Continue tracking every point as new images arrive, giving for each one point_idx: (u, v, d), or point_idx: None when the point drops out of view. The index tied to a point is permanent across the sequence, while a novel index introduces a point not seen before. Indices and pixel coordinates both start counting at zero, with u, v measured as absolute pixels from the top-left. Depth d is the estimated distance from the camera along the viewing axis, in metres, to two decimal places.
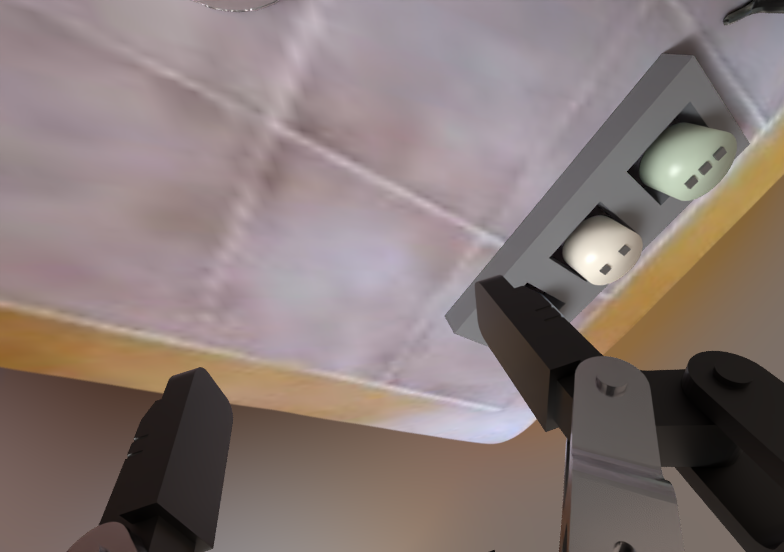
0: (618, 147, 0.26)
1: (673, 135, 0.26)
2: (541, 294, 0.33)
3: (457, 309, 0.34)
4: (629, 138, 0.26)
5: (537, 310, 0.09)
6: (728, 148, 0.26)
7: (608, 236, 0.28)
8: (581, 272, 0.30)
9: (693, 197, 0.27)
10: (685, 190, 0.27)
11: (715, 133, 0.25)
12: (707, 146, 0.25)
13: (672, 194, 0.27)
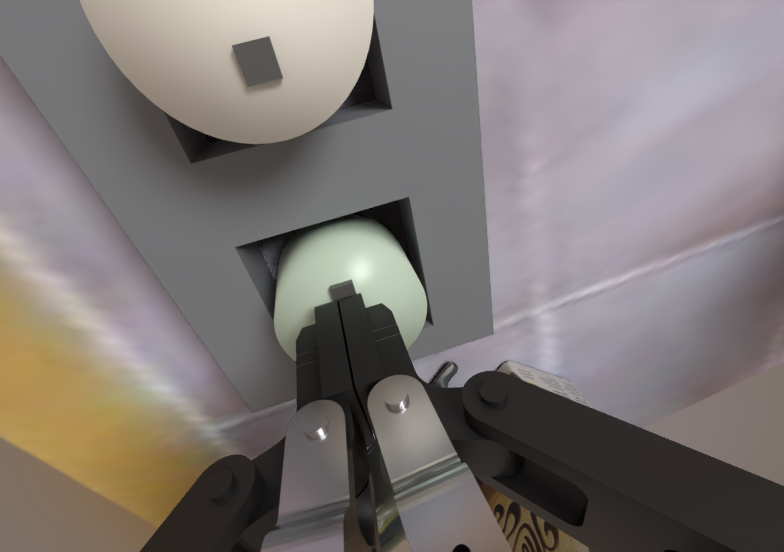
0: (477, 197, 0.12)
1: None
2: None
3: None
4: (472, 222, 0.13)
5: (383, 328, 0.10)
6: None
7: (368, 42, 0.07)
8: None
9: (288, 295, 0.11)
10: (329, 280, 0.11)
11: (412, 341, 0.13)
12: (399, 328, 0.13)
13: (340, 252, 0.11)
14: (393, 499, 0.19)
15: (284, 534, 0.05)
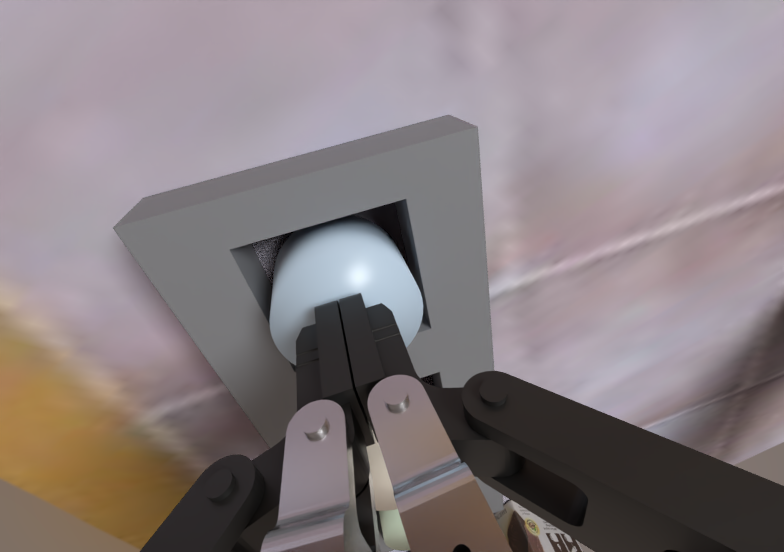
0: None
1: None
2: None
3: None
4: None
5: (383, 327, 0.10)
6: None
7: None
8: None
9: (394, 525, 0.21)
10: None
11: None
12: None
13: None
14: None
15: (284, 534, 0.05)
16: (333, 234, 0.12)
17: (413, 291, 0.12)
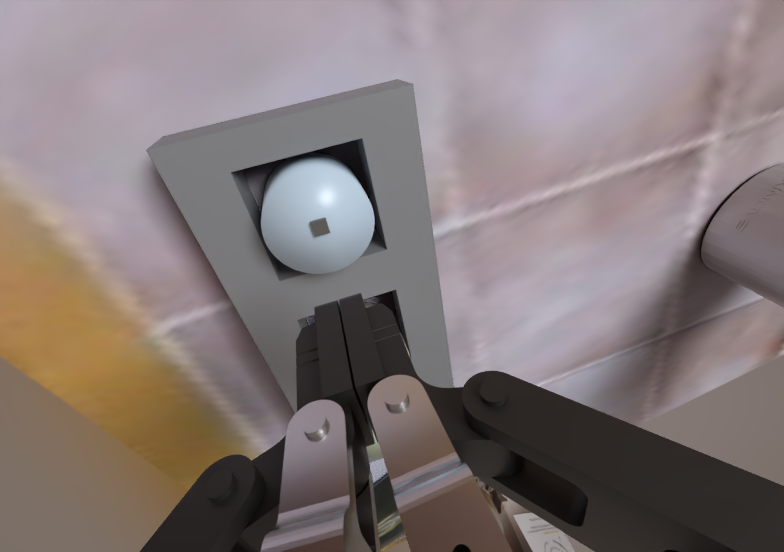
0: (449, 379, 0.26)
1: None
2: None
3: None
4: None
5: (383, 327, 0.10)
6: None
7: None
8: None
9: None
10: None
11: None
12: None
13: None
14: None
15: (284, 534, 0.05)
16: (307, 161, 0.16)
17: (366, 204, 0.16)
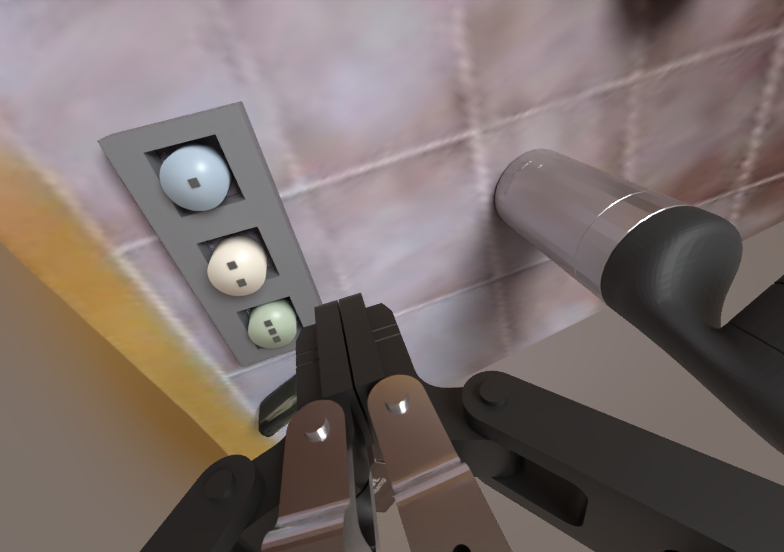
0: (312, 294, 0.40)
1: None
2: None
3: (248, 121, 0.31)
4: (313, 301, 0.40)
5: (383, 327, 0.10)
6: (274, 344, 0.40)
7: (265, 275, 0.35)
8: (238, 246, 0.33)
9: (251, 324, 0.38)
10: (263, 319, 0.38)
11: (293, 337, 0.41)
12: (288, 333, 0.40)
13: (266, 312, 0.38)
14: None
15: (284, 534, 0.05)
16: (187, 147, 0.30)
17: (219, 170, 0.30)
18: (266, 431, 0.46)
